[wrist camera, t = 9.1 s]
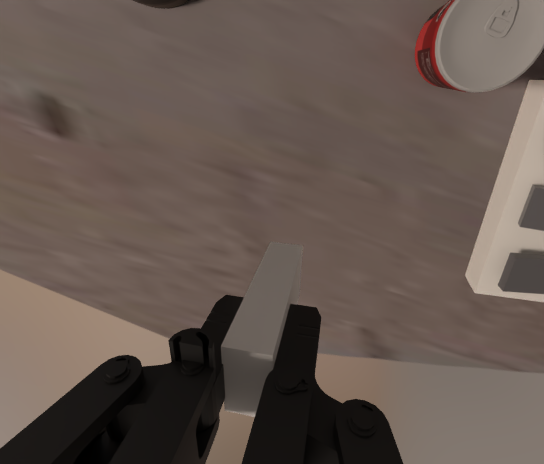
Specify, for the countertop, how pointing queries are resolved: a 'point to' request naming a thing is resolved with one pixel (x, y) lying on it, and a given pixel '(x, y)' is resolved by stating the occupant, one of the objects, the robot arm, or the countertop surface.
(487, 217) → the rocker switch panel
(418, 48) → the canned food
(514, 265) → the block
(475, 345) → the countertop surface
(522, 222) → the rocker middle
